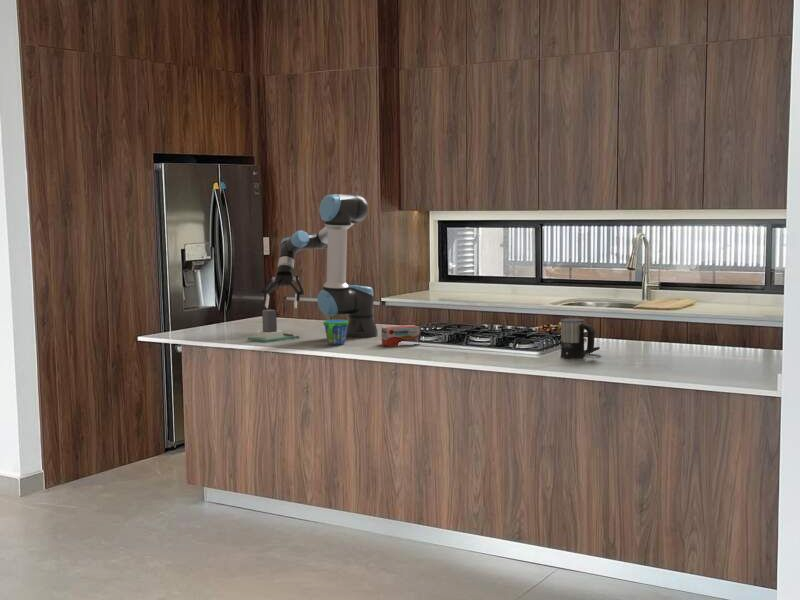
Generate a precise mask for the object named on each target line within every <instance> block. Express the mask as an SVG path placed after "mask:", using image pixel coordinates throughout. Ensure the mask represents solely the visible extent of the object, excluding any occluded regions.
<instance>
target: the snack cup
mask: <svg viewBox="0 0 800 600" xmlns="http://www.w3.org/2000/svg"><path fill="white" fill-rule="evenodd" d="M323 325H324V326H323V327H324V328H325V329H324V330H325V335H326V341H327V344H328V345H330V346H342V345H344V344H345V343H346V339H347V338H346V332H347V325H348V319H327V320H324V321H323Z"/></svg>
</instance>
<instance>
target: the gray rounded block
mask: <svg viewBox="0 0 800 600" xmlns="http://www.w3.org/2000/svg"><path fill="white" fill-rule="evenodd" d="M261 311H262V312H261V313H262V316H261V317H262V331H263V332H267V333H270V332H277V330H278V328H277V327H278V325H277V322H278V321H277V310H275V309H262V310H261Z"/></svg>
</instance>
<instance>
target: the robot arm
mask: <svg viewBox="0 0 800 600" xmlns="http://www.w3.org/2000/svg"><path fill="white" fill-rule="evenodd" d="M369 211H370V210H369V204H368V201H367V200H366V199H365V198H364V197H363V196H362V195H360V194H356V193H352V194H349V193H348V194H347V193H346V194H345V193H343V194H342V193H334V194H327V195H325V196H324V197H323V198H322V199H321V202H320V205H319V215H320V218H321V220H322V221H324V227H323V228H322V229H321V230H319V231H318V232H313V233H308V232H306V231H304V230H297V231H296V232H295V233H292V235H291V236H290V237H284V238H283V239H281V241H280V246H279V255H278V263H277V272H276V276H273V275H270V276H269V278H268V281H267V282H266V283H265V284H264V286H263V287H262V289H261V291H260V293H261V295H262V296H263V300H264V302H265V304H264V307H265V308H266V309H265V310H269V303H270V295H271V293H273V292H274V291H275V290H276V289H277V288H279V287H280V286H281V287H283V286H284V287H288V286H289V287H290V288H291V289H292V290H293V291H294V293H295V294H294V301H293V308H294V310H295V309H297V308H298V302H300V299H301V296H302V295H303V296H304V295H305V292H304V289H303V287H302V284H301V281H300V277H299V275H296V276H294V268H295V259H296V255H297V254H298V253H299V252H301V251H302V250H326V249H327V250H326V251H327V253H326V257H327V258H326V282H325V283H324V284H323V285H322V290H320V291H319V292H318V294H317V296H316V297H317V298H316V300H317V305H318V308H319V311H320V312H321V313H322V314H323V315H325V316H327V317H336V316H345V315H348V316H347V318H348V319H347V321H348V325H347V332H346V337H347V338H353V339H354V338H356V339H357V338H358V339H359V338H373V337H377V336H378V335H379V334H378V333H379V332H378V331H379V330H378V328H377V325H376V321H375V319H374V314H375V313H374V298H375V296H374V289H373V287H371V286H364V285H354V284H348V282H347V255H348V254H347V251H348V250H347V249H348V245H347V244H348V230H349V229H350V228H351V227H352V226H353V225H358V224H360V223H362V221H364V220H365V219H366V218H367V216H368V214H369ZM293 281H294V282H296V285H297V286H298V288H299V290H298V289H297V287H296V286H295V285H294V284H293Z"/></svg>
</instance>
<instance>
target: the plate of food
mask: <svg viewBox="0 0 800 600" xmlns="http://www.w3.org/2000/svg"><path fill="white" fill-rule="evenodd" d="M534 328H537V329H538V330H540V331H550V330H553V331H561V321H560V322H558V325H556V324H555V325H553V324H550V323H546V324H544V323H543V324H541V326H536V327H534ZM584 333H587V331H586V330H585V329H584Z"/></svg>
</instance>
